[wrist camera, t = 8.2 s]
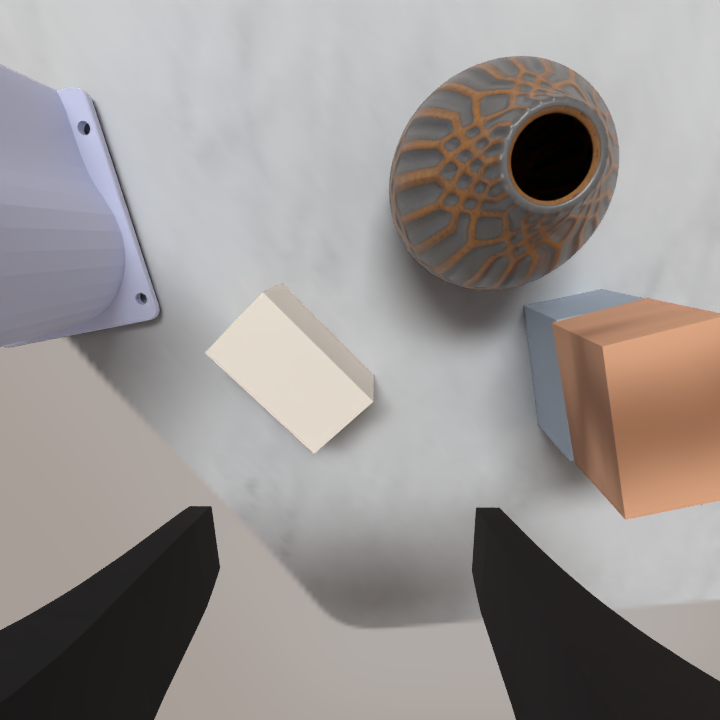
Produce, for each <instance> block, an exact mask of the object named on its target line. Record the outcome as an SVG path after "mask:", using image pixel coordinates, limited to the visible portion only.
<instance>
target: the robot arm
mask: <svg viewBox="0 0 720 720" xmlns="http://www.w3.org/2000/svg"><path fill="white" fill-rule="evenodd" d="M86 124H89V126H90V133H89V134H88V135H86V134H85V132H84V127H85V125H86ZM141 293H143V294H144V295H145V296H146V297H147V302H146V303H144V302H142V301H141V299H140V295H141ZM159 312H160V309H159V305H158V301H157V298H156V295H155V292H154V289H153V286H152V283H151V280H150V277H149V274H148V271H147V268H146V265H145V262H144V258H143V255H142V252H141V249H140V246H139V243H138V240H137V237H136V234H135V231H134V228H133V225H132V222H131V219H130V216H129V212H128V209H127V206H126V203H125V200H124V197H123V194H122V191H121V188H120V185H119V182H118V179H117V176H116V173H115V169H114V166H113V163H112V160H111V157H110V154H109V151H108V148H107V145H106V142H105V139H104V136H103V133H102V130H101V126H100V123H99V120H98V117H97V114H96V111H95V108H94V105H93V102H92V99H91V98H90V96H89V95H88V94H87V93H86V92H85V91H83V90H81V89H79V88H77V87H68V88H64V89H60V90H54V89H52V88H50V87H48V86H46V85H44V84H41V83H39V82H37V81H35V80H33V79H31V78H29V77H27V76H24V75H22V74H20V73H18V72H16V71H14V70H12V69H10V68H7V67H5V66H3V65H1V64H0V347H2V346H3V347H14V346H20V345H24V344H30V343H35V342H40V341H45V340H50V339H55V338H61V337H66V336H71V335H76V334H81V333H87V332H92V331H97V330H102V329H107V328H112V327H117V326H123V325H128V324H133V323H138V322H143V321H148V320H151V319H154V318H156V317H157V316H158V315H159ZM219 569H220V565H219V557H218V551H217V543H216V537H215V529H214V522H213V514H212V508H211V506H207V507H205V506H203V507H202V506H200V507H199V506H190V507H188V508H187V509H185V510H184V511H182V512H181V513H179V514H178V515H177V516H175V517H174V518H172V519H171V520H170V521H169V522H167V523H166V524H164V525H163V526H162V527H160V528H159V529H158V530H156V531H155V532H154V533H152V534H151V535H150V536H148V537H147V538H145V539H144V540H143V541H141V542H140V543H139V544H137V545H136V546H135V547H133V548H132V549H130V550H129V551H128V552H126V553H125V554H124V555H122V556H121V557H119V558H118V559H116V560H115V561H113V562H112V563H111V564H109V565H108V566H106V567H105V568H103V569H102V570H100V571H99V572H97V573H96V574H94V575H93V576H92V577H90V578H89V579H87V580H86V581H84V582H83V583H81V584H80V585H78V586H77V587H75V588H73V589H72V590H70V591H68V592H67V593H65V594H64V595H62V596H60V597H59V598H57V599H55V600H54V601H52V602H50V603H49V604H47V605H45V606H44V607H42V608H40V609H39V610H37V611H35V612H33V613H32V614H30V615H28V616H26V617H24V618H23V619H21V620H19V621H17V622H15V623H13V624H11V625H9V626H7V627H6V628H4V629H2V630H0V720H154V719H155V716H156V714H157V712H158V709H159V707H160V705H161V703H162V700H163V698H164V696H165V694H166V691H167V689H168V687H169V685H170V683H171V681H172V679H173V677H174V675H175V673H176V671H177V669H178V667H179V664H180V663H181V660H182V658H183V656H184V654H185V651H186V650H187V648H188V646H189V644H190V642H191V640H192V637H193V635H194V633H195V631H196V629H197V627H198V625H199V623H200V620H201V618H202V616H203V614H204V612H205V610H206V607H207V605H208V602H209V599H210V596H211V594H212V591H213V588H214V585H215V582H216V579H217V576H218V572H219ZM472 573H473V578H474V583H475V588H476V593H477V597H478V602H479V606H480V610H481V614H482V617H483V620H484V623H485V626H486V629H487V632H488V635H489V638H490V641H491V644H492V647H493V650H494V653H495V656H496V659H497V662H498V665H499V668H500V671H501V674H502V677H503V680H504V683H505V686H506V689H507V692H508V695H509V698H510V701H511V704H512V708H513V711H514V714H515V718H516V720H720V681H718V680H717V679H715V678H713V677H712V676H710V675H708V674H706V673H705V672H703V671H702V670H700V669H698V668H697V667H695V666H693V665H692V664H690V663H689V662H687V661H685V660H684V659H682V658H680V657H679V656H677V655H676V654H674V653H673V652H672V651H670V650H668V649H667V648H665V647H663V646H662V645H661V644H659V643H658V642H656V641H654V640H653V639H652V638H650V637H649V636H647V635H646V634H644V633H643V632H642V631H640V630H639V629H637V628H636V627H634V626H633V625H632V624H630V623H629V622H628V621H626V620H625V619H624V618H622V617H621V616H620V615H618V614H617V613H615V612H614V611H613V610H611V609H610V608H609V607H607V606H606V605H605V604H603V603H602V602H601V601H600V600H598V599H597V598H596V597H595V596H593V595H592V594H591V593H590V592H588V591H587V590H586V589H585V588H584V587H583V586H581V585H580V584H579V583H578V582H577V581H575V580H574V579H573V578H572V577H571V576H570V575H568V574H567V573H566V572H565V571H564V570H563V569H562V568H561V567H559V566H558V565H557V564H556V563H555V562H554V561H553V560H552V559H551V558H550V557H549V556H548V555H546V554H545V553H544V552H543V551H542V550H541V549H540V548H539V547H538V546H537V545H536V544H535V543H534V542H533V541H532V540H531V539H530V538H529V537H528V536H527V535H526V534H525V533H524V532H523V531H522V530H521V529H520V528H519V527H518V526H517V525H516V524H515V523H514V522H513V521H512V520H511V519H510V518H509V517H508V516H507V515H506V514H505V513H504V512H503V511H502V510H501V509H500V508H476V518H475V533H474V548H473V564H472Z"/></svg>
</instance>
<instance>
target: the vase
mask: <svg viewBox="0 0 720 720" xmlns="http://www.w3.org/2000/svg"><path fill="white" fill-rule="evenodd" d="M618 168H619V146H618V138H617V133H616V129H615V125H614V122H613V119H612V116H611V114H610V112H609V110H608V108H607V106H606V104H605V102H604V100H603V99H602V98H601V96H600V95H599V93H598V92H597V91H596V90H595V88H594V87H593V86H592V85H591V84H590V83H589V82H588V81H587V80H586V79H584V78H583V77H582V76H581V75H579V74H578V73H576V72H575V71H573V70H572V69H570V68H568V67H566V66H564V65H562V64H559V63H557V62H554V61H551V60H547V59H543V58H538V57H529V56H516V57H505V58H498V59H494V60H490V61H487V62H484V63H481V64H478V65H475V66H473V67H470V68H468V69H466V70H464V71H462V72H461V73H459V74H457V75H455V76H454V77H452V78H451V79H449V80H448V81H446V82H445V83H444V84H442V85H441V86H440V87H439V88H437V89H436V90H435V91H434V92H433V93H432V94H431V95H430V96H429V97H428V98H427V99H426V100H425V101H424V102H423V103H422V104H421V106H420V107H419V108H418V109H417V111H416V112H415V113H414V115H413V116H412V118H411V119H410V121H409V122H408V124H407V126H406V128H405V130H404V132H403V134H402V136H401V138H400V140H399V143H398V145H397V148H396V151H395V154H394V158H393V162H392V166H391V173H390V183H389V196H390V206H391V213H392V217H393V221H394V224H395V227H396V229H397V232H398V234H399V236H400V238H401V240H402V242H403V244H404V245H405V247H406V248H407V250H408V251H409V253H410V254H411V255H412V256H413V257H414V259H415V260H416V261H417V262H418V263H419V264H420V265H421V266H423V267H424V268H425V269H426V270H427V271H429V272H430V273H432V274H433V275H435V276H436V277H438V278H440V279H442V280H444V281H446V282H448V283H451V284H454V285H457V286H460V287H464V288H468V289H475V290H499V289H507V288H512V287H516V286H520V285H523V284H526V283H529V282H531V281H534V280H536V279H538V278H541V277H542V276H544V275H546V274H548V273H550V272H551V271H553V270H555V269H556V268H558V267H559V266H561V265H562V264H563V263H565V262H566V261H567V260H568V259H570V258H571V257H572V256H573V255H574V254H575V253H576V252H577V251H578V250H579V249H580V248H581V247H582V246H583V245H584V244H585V243H586V242H587V241H588V239H589V238H590V237H591V236H592V234H593V233H594V231H595V230H596V229H597V227H598V225H599V224H600V222H601V220H602V219H603V217H604V215H605V213H606V211H607V209H608V206H609V204H610V202H611V199H612V196H613V193H614V190H615V186H616V181H617V176H618Z"/></svg>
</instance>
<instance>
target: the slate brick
mask: <svg viewBox="0 0 720 720" xmlns="http://www.w3.org/2000/svg"><path fill="white" fill-rule="evenodd" d="M641 299H645V298H640V297H635V296H631V295H626V294H621V293H617V292H612V291H607V290H603V289H600V290H596V291H591V292H586V293H582V294H577V295H572V296H567V297H563V298H558V299H553V300H548V301H544V302H539V303H534V304H530V305H525V306H524V311H525V319H526V328H527V336H528V344H529V353H530V361H531V369H532V378H533V386H534V394H535V403H536V411H537V419H538V426H539V427H540V428H541V429H542V430H543V431H544V433H545V434H546V435H547V436H548V437H549V438H550V439H551V440H552V442H553V443H554V444H555V445H556V446H557V447H558V448H559V450H560V451H561V452H562V453H563V454H564V455H565V456H566V458H567V459H568V460H569V461H570V462H572V461H574V455H573V449H572V443H571V437H570V431H569V425H568V419H567V413H566V407H565V400H564V395H563V388H562V382H561V376H560V370H559V364H558V358H557V352H556V346H555V340H554V334H553V328H552V323H553V322H557V321H561V320H564V319H568V318H572V317H576V316H580V315H584V314H587V313H591V312H595V311H599V310H603V309H607V308H610V307H614V306H618V305H622V304H626V303H630V302H634V301H637V300H641Z"/></svg>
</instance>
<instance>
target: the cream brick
mask: <svg viewBox="0 0 720 720" xmlns="http://www.w3.org/2000/svg"><path fill="white" fill-rule="evenodd" d="M205 353H206V354H207V355H208V356H209V357H210V358H211V359H212V360H213V361H214V362H215V363H217V364H218V365H219V366H220V367H221V368H222V369H223V370H224V371H225V372H226V373H227V374H228V375H229V376H231V377H232V378H233V379H234V380H235V381H236V382H237V383H238V384H239V385H240V386H241V387H242V388H244V389H245V390H246V391H247V392H248V393H249V394H250V395H251V396H252V397H253V398H254V399H255V400H257V401H258V402H259V403H260V404H261V405H262V406H263V407H264V408H265V409H266V410H267V411H268V412H269V413H271V414H272V415H273V416H274V417H275V418H276V419H277V420H278V421H279V422H280V423H281V424H282V425H284V426H285V427H286V428H287V429H288V430H289V431H290V432H291V433H292V434H293V435H294V436H295V437H297V438H298V439H299V440H300V441H301V442H302V443H303V444H304V445H305V446H306V447H307V448H308V449H309V450H311V451H312V452H313V453H316V452H317V451H318V450H319V449H320V448H321V447H322V446H324V445H325V444H326V443H327V442H328V441H329V440H330V439H331V438H333V437H334V436H335V435H336V434H337V433H338V432H339V431H341V430H342V429H343V428H344V427H345V426H346V425H347V424H349V423H350V422H351V421H352V420H353V419H354V418H355V417H356V416H358V415H359V414H360V413H361V412H362V411H363V410H364V409H366V408H367V407H368V406H369V405H370V404H371V403H372V402H373V395H374V374H373V373H372V372H371V371H370V370H369V369H368V368H367V367H366V366H365V365H364V364H363V363H362V362H361V361H360V360H359V359H358V358H357V357H356V356H355V355H354V354H353V353H352V352H351V351H350V350H349V349H348V348H347V347H346V346H345V345H344V344H343V343H342V342H341V341H340V340H339V339H338V338H337V337H336V336H335V335H334V334H333V333H332V332H331V331H330V330H329V329H328V328H327V327H326V326H325V325H324V324H323V323H322V322H321V321H320V320H319V319H318V318H317V317H316V316H315V315H314V314H313V313H312V312H311V311H310V310H309V309H308V308H307V307H306V306H305V305H304V304H303V303H302V302H301V301H300V300H299V299H298V298H297V297H296V296H295V295H294V294H293V293H292V292H291V291H290V290H289V289H288V288H287V287H286V286H285V285H284V284H283V283H282V284H280V285H278V286H275V287H273V288H271V289H269V290H266V291H264V292H262V293H261V294H260V296H259V297H258V298H257V299H256V300H255V301H254V302H253V303H252V304H251V305H250V306H249V307H248V308H247V309H246V310H245V311H244V312H243V313H242V314H241V315H240V316H239V317H238V318H237V320H236V321H235V322H234V323H233V324H232V325H231V326H230V327H229V328H228V329H227V330H226V331H225V332H224V333H223V334H222V335H221V336H220V337H219V338H218V339H217V340H216V341H215V342H214V343H213V345H212V346H211V347H210V348H209V349H208V350H207V351H206V352H205Z"/></svg>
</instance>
